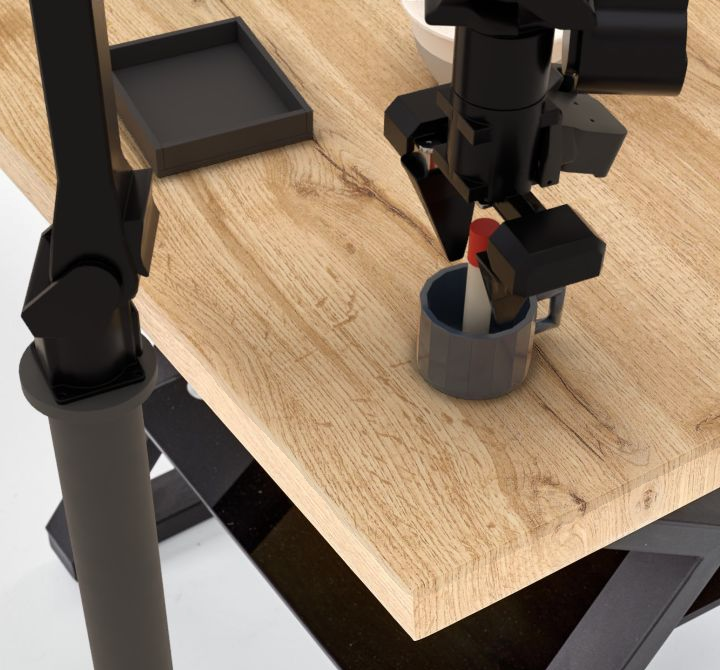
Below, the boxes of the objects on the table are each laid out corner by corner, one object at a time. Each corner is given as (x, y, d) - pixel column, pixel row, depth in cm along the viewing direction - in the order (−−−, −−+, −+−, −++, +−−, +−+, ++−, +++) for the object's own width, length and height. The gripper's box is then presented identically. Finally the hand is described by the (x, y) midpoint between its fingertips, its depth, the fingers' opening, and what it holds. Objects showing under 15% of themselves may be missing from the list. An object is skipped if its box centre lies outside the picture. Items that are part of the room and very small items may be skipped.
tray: (158, 178, 122) (155, 150, 120) (94, 77, 131) (90, 49, 129) (313, 138, 126) (313, 110, 124) (241, 43, 135) (240, 15, 133)
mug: (448, 413, 106) (453, 351, 102) (397, 341, 110) (400, 280, 106) (586, 368, 109) (596, 307, 105) (530, 301, 113) (538, 239, 109)
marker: (467, 368, 108) (479, 239, 100) (453, 350, 109) (464, 221, 101) (492, 360, 108) (507, 231, 100) (479, 342, 110) (492, 214, 101)
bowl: (406, 146, 126) (410, 50, 119) (385, 37, 136) (388, -56, 130) (603, 137, 127) (618, 42, 120) (567, 31, 137) (579, -62, 131)
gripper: (702, 137, 89) (658, 343, 101) (541, -21, 100) (517, 182, 112) (531, 184, 86) (505, 392, 98) (383, 16, 97) (376, 221, 109)
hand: (479, 289), depth 104 cm, fingers open, 7 cm apart
